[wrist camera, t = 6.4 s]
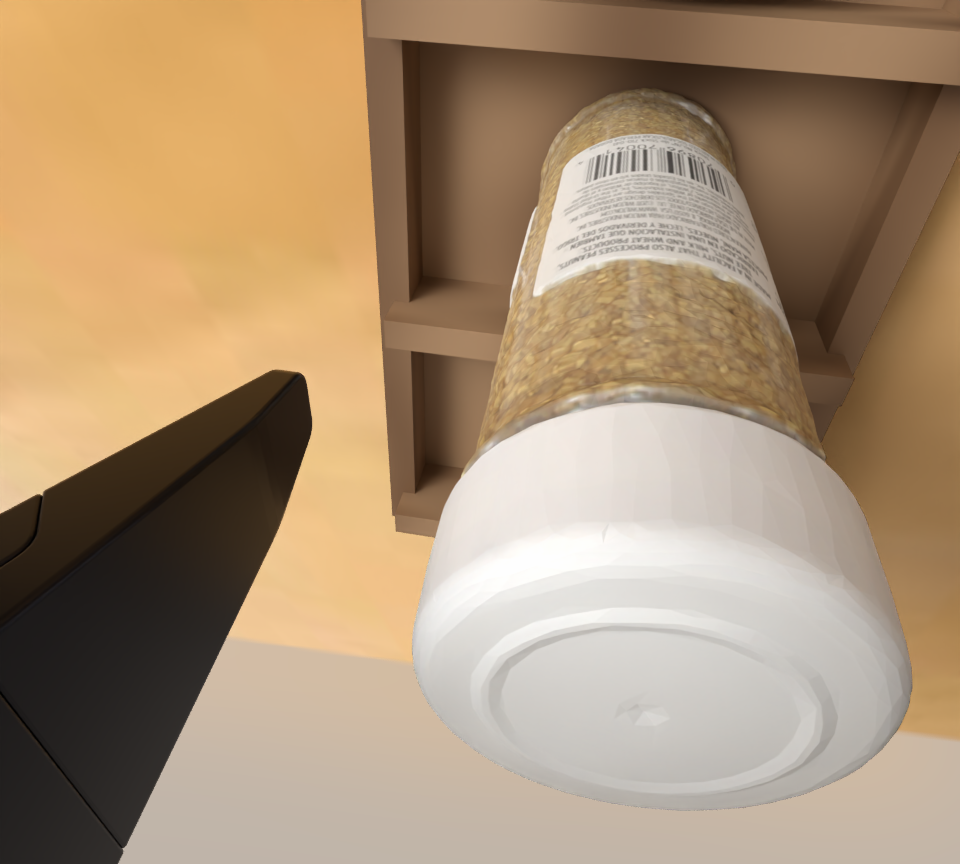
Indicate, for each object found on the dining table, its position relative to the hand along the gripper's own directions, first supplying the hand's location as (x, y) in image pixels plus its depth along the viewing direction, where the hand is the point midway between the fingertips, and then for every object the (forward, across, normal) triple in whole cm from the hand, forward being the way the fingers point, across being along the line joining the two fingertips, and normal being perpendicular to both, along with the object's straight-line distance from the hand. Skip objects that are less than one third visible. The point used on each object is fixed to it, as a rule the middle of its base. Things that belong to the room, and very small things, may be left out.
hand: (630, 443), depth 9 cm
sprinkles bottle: (+10, 0, 0) cm, 10 cm away
